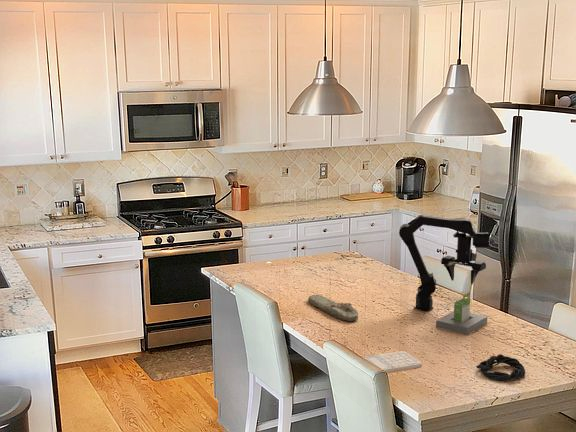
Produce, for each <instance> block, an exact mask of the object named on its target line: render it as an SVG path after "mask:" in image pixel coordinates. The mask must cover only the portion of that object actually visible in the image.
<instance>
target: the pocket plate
mask: <svg viewBox="0 0 576 432" xmlns="http://www.w3.org/2000/svg"><path fill="white" fill-rule="evenodd" d="M453 319H454V310H453V311H451V312H450V313H448V314H445V315H444V316H442V317H440V318H438V319H436V320H435V328H438V329H442V330H446V331H450V332H454V333H457V334H461V335H466V336H468V335H470V334H472V333H473V332H475V331H476V330H478V329H480V328H482V327H484V326H485V325H487V324H488V315H487V316H486V315H482V314H478V313H472V312H470V316H469V320H468V321H466V322H464V323H462V322H458V321H454V320H453Z"/></svg>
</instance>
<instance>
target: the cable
mask: <svg viewBox="0 0 576 432" xmlns="http://www.w3.org/2000/svg"><path fill="white" fill-rule="evenodd" d="M500 364H505V365H507V366H510V367H512V366H513V367H512V368H513V369H512V371H511V372H510V374H509V373H507V372H502V371H497V370H494V371H491V369H492V368H493V367H495V366H498V365H500ZM514 367H515V368H514ZM475 368H476V369H480V371H481V373H483V375H484V377H486V378H487V377H488V378H489V380H495V381H499V380H500V381H499V382H502V381H504V382H507V381H512V380H515V379H520V378H519V377H521V378H523V377H524V376H525V375H526V370H525V366H524V365H523V364H522V363H521V362H520V361H519V360H518V359H517V358H515V357H511V356H506V355H503V354H497V355H492V356H490V357H489V358H487V359H486V360H483V361H481V362H480V363H479V364H478V365H476V367H475ZM488 378H487V379H488Z"/></svg>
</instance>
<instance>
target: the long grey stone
mask: <svg viewBox="0 0 576 432" xmlns="http://www.w3.org/2000/svg"><path fill="white" fill-rule="evenodd" d="M307 301H309V302H308V303H310V304H311V305H313V306H314V307H315V308H317V309H319V310H321V311H322V312H324V313H327V314H329V315H330V316H332V317H335V318H337V319H338V320H340V321H341V320H343V321H346V322H347V321H348V322H353V321H357V320H358V318H359V312H358V311H357V309H355V308H354V307H353V305H352V303H351V302H345V303H344V302H336V301H334V300H332V299H330V298H327V297H325V296H323V295H322V294H312V295H309V297H308V299H307Z"/></svg>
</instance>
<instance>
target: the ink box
mask: <svg viewBox="0 0 576 432" xmlns="http://www.w3.org/2000/svg"><path fill="white" fill-rule="evenodd" d="M467 296H468V297H467ZM466 297H467V298H466ZM453 305H454V306H453V311H454V319H453V320H454V321H458V322H462V323H464V322H466V321H468V320H469V316H470V313H471V312H470V311H471V308H470V307H471V292H470V291H469V292H467V293H465V294H464V295H462V298H461V299H458V300H456V301H455V302H454V304H453Z"/></svg>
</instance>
